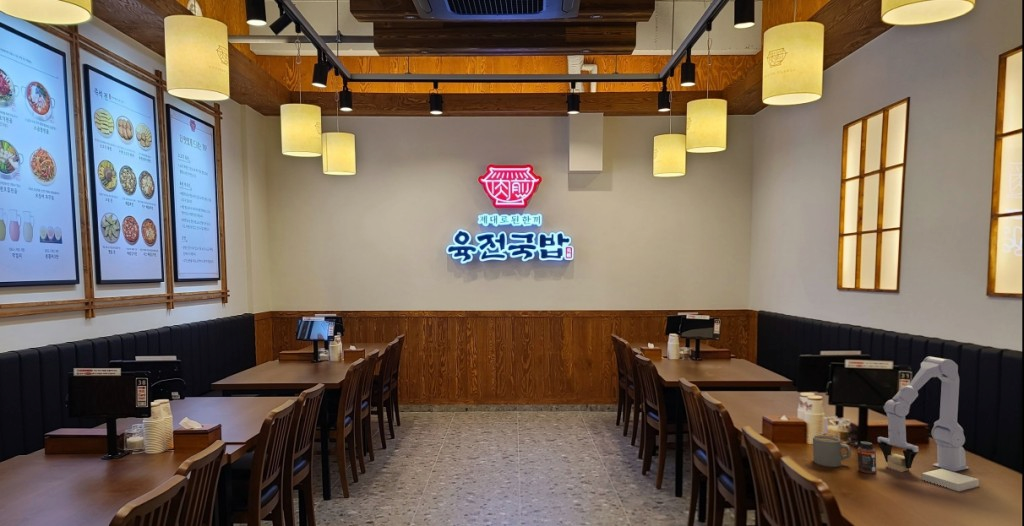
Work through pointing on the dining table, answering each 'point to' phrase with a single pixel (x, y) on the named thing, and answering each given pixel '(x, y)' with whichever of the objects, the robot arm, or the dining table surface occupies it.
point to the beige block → (950, 479)
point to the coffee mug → (829, 451)
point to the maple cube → (897, 462)
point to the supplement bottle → (866, 458)
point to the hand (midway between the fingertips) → (898, 464)
